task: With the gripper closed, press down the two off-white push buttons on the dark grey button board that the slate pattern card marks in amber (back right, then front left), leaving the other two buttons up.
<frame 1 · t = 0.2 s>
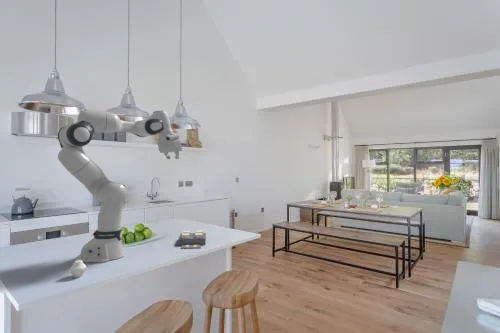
hand: (173, 158, 178), 52 cm above the worktop, tool tilted 20°, fingers open, 8 cm apart
pattern card: (191, 247, 169), on the worktop
button back right: (199, 233, 184), point 4 cm above the worktop, slide at 0.0 cm
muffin: (78, 276, 125), on the worktop
button front right: (198, 236, 177), point 4 cm above the worktop, slide at 0.0 cm
button front left: (185, 236, 176), point 4 cm above the worktop, slide at 0.0 cm
button back left: (186, 233, 183), point 4 cm above the worktop, slide at 0.0 cm
button board: (192, 242, 180), on the worktop
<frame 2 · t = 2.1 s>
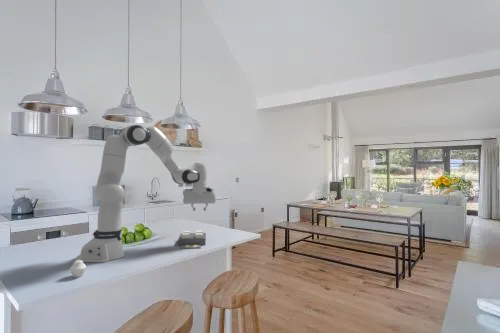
hand: (199, 210, 184), 19 cm above the worktop, tool pointing down, fingers open, 5 cm apart
nothing on the worktop moved.
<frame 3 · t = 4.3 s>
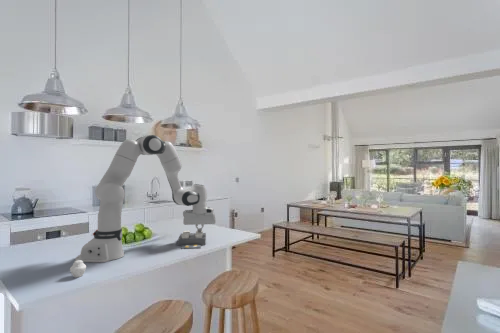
hand: (199, 231, 184), 6 cm above the worktop, tool pointing down, fingers closed, pressing on button back right
button back right: (199, 233, 184), point 4 cm above the worktop, slide at 0.2 cm, touching gripper
everything else where it was.
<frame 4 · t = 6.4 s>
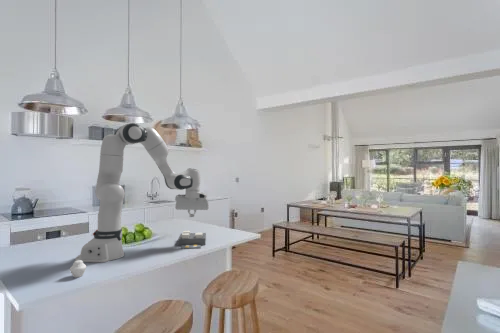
hand: (191, 216, 180), 16 cm above the worktop, tool pointing down, fingers closed
button back right: (199, 235, 184), point 3 cm above the worktop, slide at 1.4 cm
everything else where it was.
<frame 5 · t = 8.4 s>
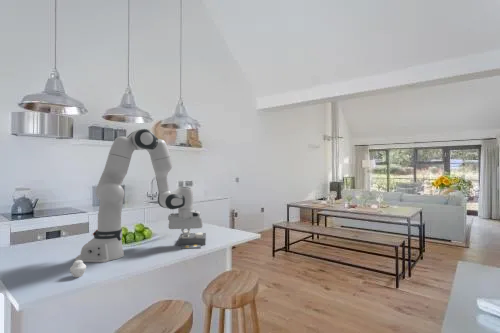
hand: (185, 235, 176), 5 cm above the worktop, tool pointing down, fingers closed, pressing on button front left
button front left: (185, 238, 176), point 3 cm above the worktop, slide at 1.1 cm, touching gripper
everything else where it was.
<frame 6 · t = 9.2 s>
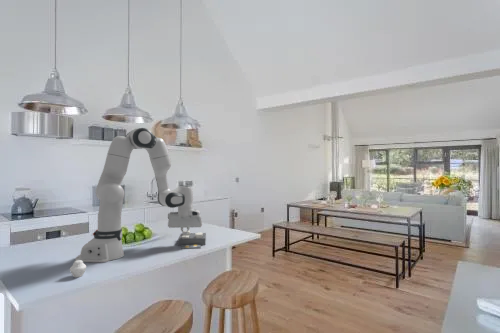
hand: (185, 234, 176), 6 cm above the worktop, tool pointing down, fingers closed
button front left: (185, 238, 176), point 3 cm above the worktop, slide at 1.4 cm
everything else where it was.
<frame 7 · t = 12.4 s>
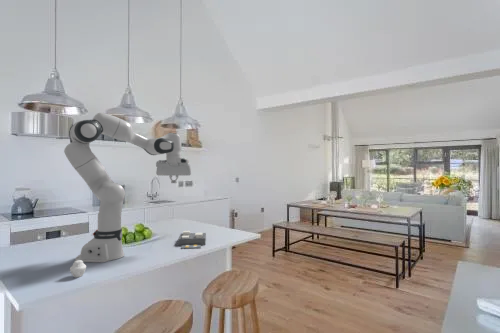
hand: (173, 183, 174), 37 cm above the worktop, tool pointing down, fingers closed
nothing on the worktop moved.
at the end: button back right slide at 1.4 cm; button front left slide at 1.4 cm; button back left slide at 0.0 cm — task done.
